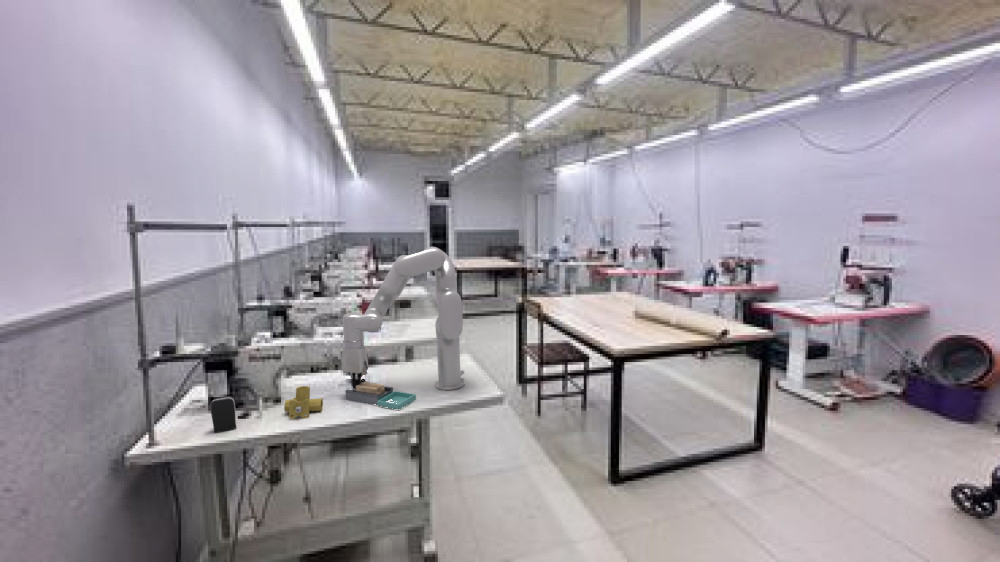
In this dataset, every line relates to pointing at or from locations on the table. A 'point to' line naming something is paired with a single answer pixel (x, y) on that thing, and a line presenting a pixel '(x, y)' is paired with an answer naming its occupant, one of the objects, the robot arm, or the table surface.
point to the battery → (223, 414)
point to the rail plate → (367, 395)
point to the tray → (397, 396)
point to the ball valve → (302, 403)
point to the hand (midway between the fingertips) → (357, 387)
